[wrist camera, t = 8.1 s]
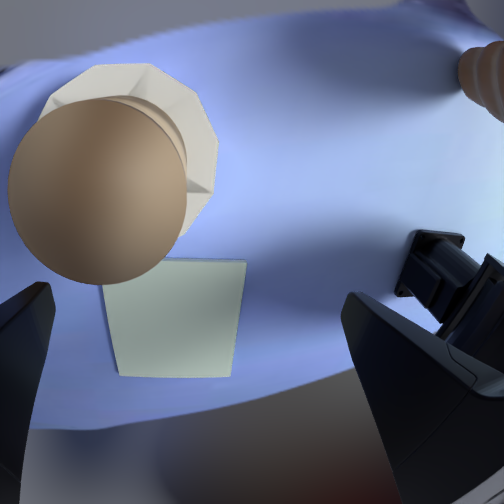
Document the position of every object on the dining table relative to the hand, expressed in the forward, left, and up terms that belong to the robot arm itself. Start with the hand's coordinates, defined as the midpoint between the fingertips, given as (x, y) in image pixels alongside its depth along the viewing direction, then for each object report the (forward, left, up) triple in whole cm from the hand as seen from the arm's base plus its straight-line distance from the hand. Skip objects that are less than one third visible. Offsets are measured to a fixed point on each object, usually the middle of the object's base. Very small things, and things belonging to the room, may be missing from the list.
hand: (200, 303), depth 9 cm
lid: (+4, -2, -8) cm, 9 cm away
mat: (+1, +11, -12) cm, 16 cm away
